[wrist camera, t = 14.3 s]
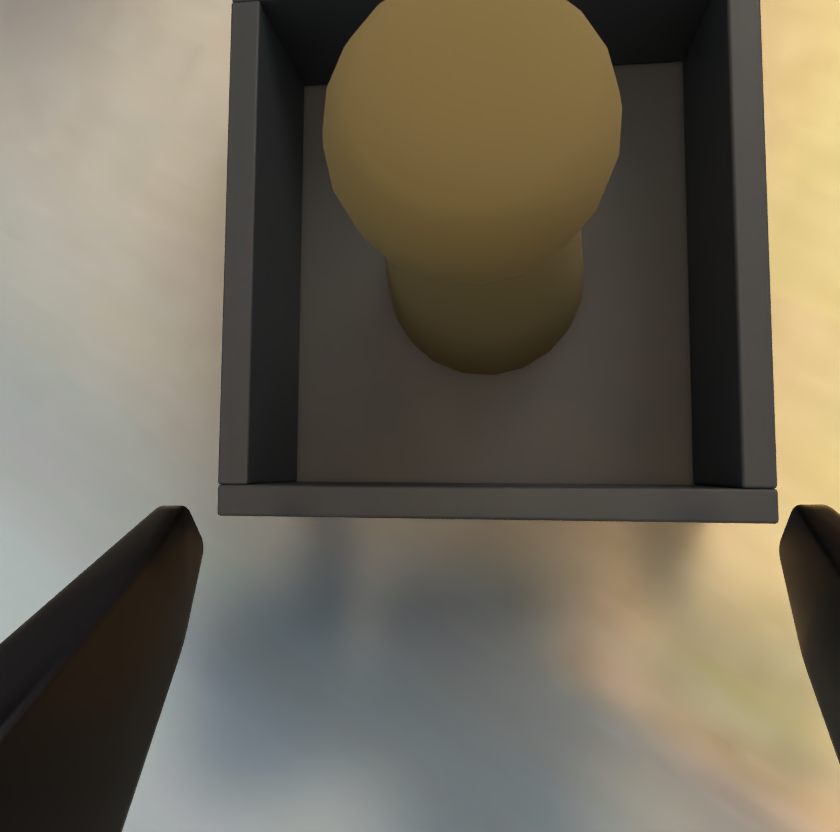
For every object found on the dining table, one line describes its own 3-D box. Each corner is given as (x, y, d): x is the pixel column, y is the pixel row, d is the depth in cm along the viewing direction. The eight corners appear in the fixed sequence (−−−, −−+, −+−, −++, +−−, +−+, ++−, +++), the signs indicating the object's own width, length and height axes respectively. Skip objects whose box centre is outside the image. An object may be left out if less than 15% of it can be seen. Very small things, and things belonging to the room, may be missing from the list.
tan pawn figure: (574, 174, 21) (647, -139, 10) (593, 366, 21) (690, 251, 10) (383, 197, 22) (262, -72, 11) (396, 383, 21) (283, 294, 10)
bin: (716, 511, 20) (779, 523, 16) (278, 505, 22) (216, 515, 17) (703, 47, 22) (758, -73, 17) (287, 75, 23) (232, -26, 19)
